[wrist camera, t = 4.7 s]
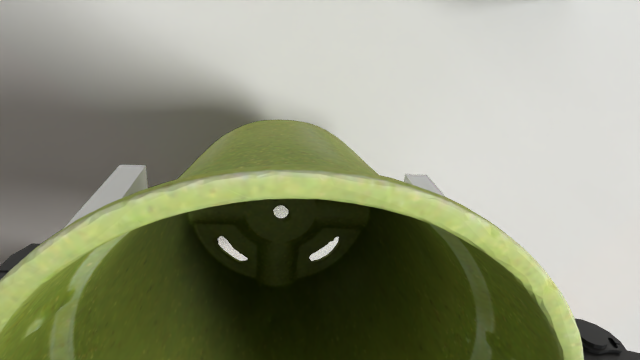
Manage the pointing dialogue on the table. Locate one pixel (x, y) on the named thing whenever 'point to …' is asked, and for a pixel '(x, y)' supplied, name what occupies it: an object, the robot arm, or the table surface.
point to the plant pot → (283, 269)
